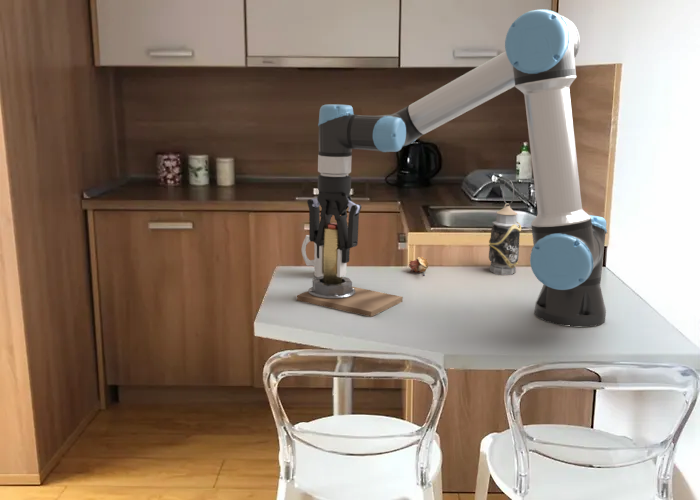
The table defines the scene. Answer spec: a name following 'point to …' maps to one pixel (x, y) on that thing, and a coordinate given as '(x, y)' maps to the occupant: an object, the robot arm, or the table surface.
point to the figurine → (419, 265)
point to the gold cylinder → (331, 254)
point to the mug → (316, 260)
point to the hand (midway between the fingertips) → (332, 274)
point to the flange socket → (331, 289)
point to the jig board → (356, 301)
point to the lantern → (504, 241)
